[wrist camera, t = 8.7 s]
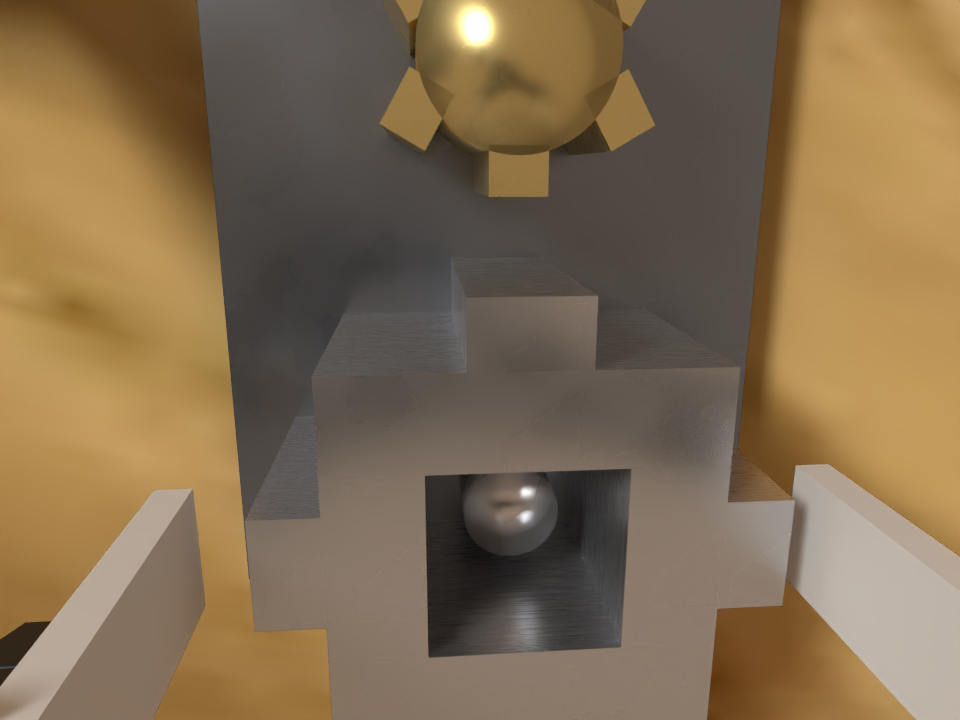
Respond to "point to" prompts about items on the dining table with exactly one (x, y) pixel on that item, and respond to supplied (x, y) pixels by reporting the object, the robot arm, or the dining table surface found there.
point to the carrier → (477, 183)
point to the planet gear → (513, 449)
